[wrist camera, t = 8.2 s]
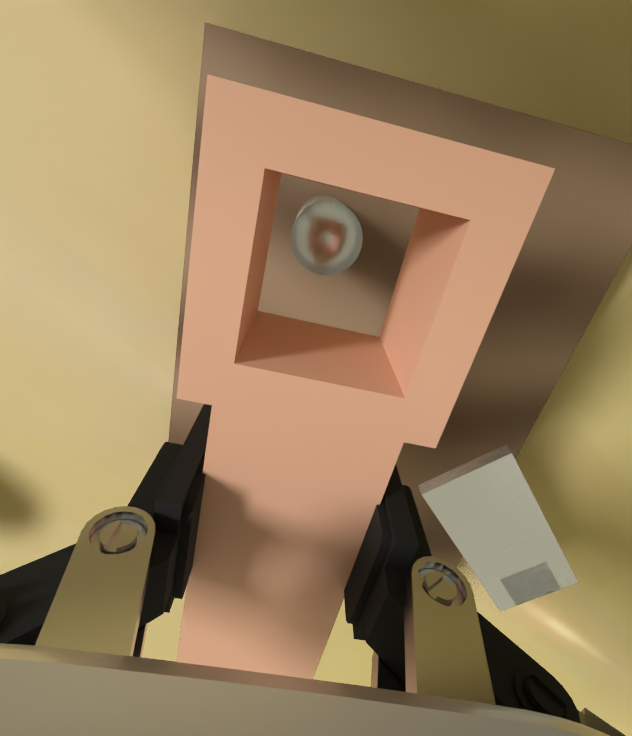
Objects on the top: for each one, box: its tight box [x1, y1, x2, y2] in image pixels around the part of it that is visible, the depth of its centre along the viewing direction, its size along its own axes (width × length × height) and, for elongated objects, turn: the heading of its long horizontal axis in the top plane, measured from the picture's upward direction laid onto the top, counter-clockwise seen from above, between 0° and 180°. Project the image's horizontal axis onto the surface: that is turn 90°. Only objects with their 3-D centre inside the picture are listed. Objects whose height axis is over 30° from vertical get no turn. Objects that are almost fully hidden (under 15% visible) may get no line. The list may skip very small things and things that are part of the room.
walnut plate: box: [168, 23, 632, 567], centre depth 19 cm, size 23×17×2 cm
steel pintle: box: [291, 195, 363, 275], centre depth 13 cm, size 2×2×4 cm
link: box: [176, 74, 555, 679], centre depth 11 cm, size 17×5×4 cm, turn 167°
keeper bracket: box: [418, 445, 578, 611], centre depth 19 cm, size 8×4×6 cm, turn 32°
